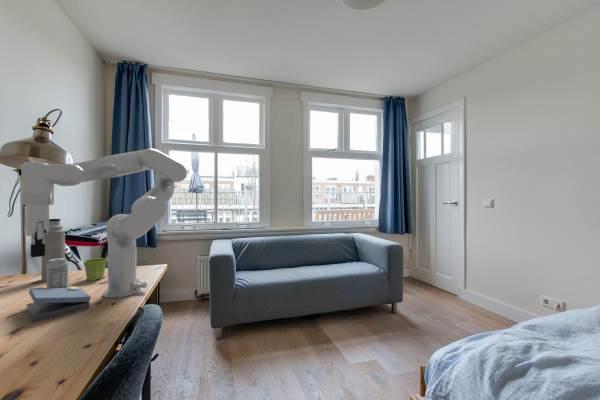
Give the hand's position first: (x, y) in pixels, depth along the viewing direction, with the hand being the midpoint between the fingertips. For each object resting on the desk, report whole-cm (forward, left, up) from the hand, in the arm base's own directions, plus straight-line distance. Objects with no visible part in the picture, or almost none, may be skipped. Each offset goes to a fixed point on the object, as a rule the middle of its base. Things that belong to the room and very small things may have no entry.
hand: (37, 256), depth 86 cm
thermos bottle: (+22, -42, -19) cm, 51 cm away
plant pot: (+3, -39, -19) cm, 43 cm away
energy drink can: (+3, -13, -19) cm, 24 cm away
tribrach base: (-4, -3, -19) cm, 20 cm away
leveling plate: (-4, -3, -15) cm, 16 cm away
